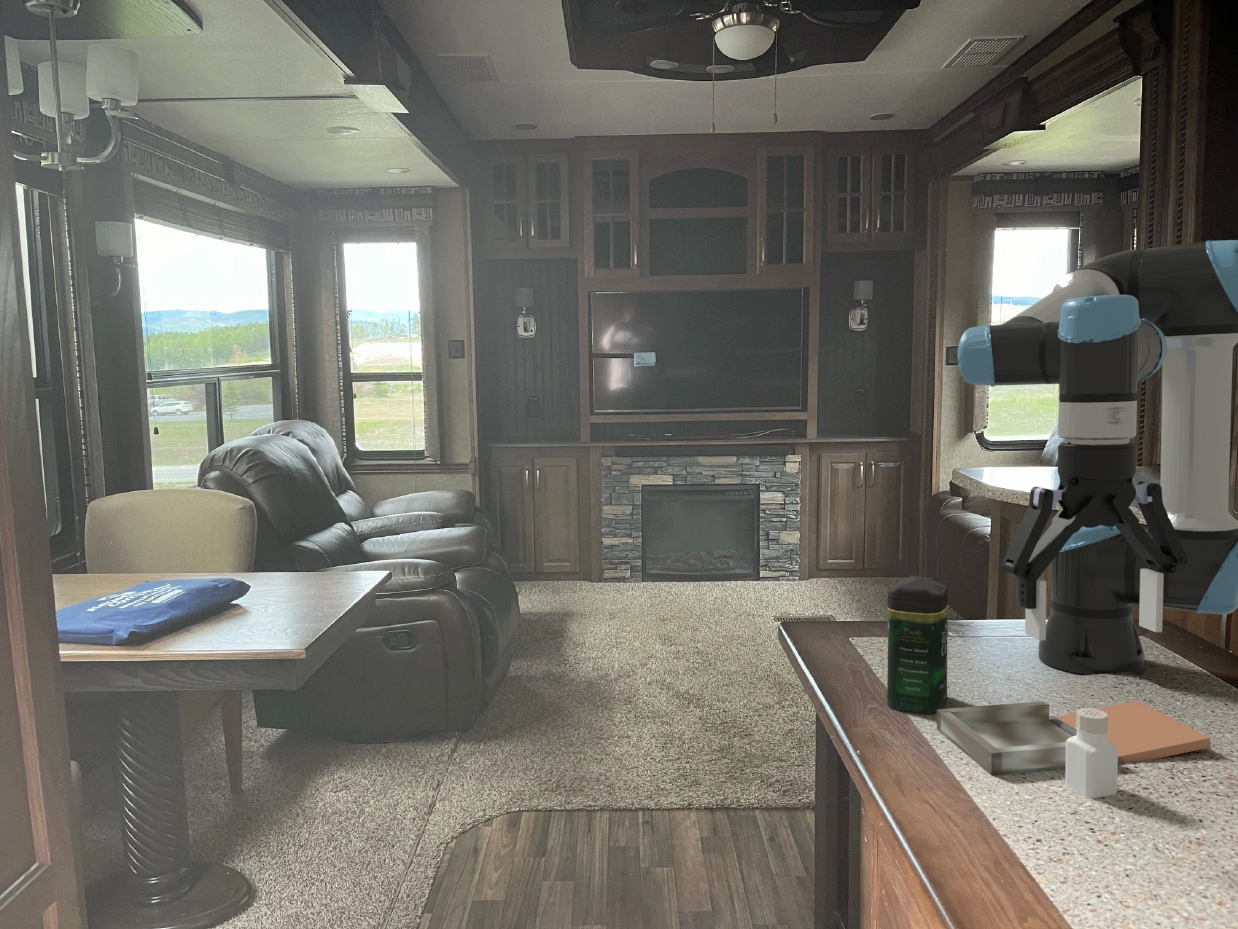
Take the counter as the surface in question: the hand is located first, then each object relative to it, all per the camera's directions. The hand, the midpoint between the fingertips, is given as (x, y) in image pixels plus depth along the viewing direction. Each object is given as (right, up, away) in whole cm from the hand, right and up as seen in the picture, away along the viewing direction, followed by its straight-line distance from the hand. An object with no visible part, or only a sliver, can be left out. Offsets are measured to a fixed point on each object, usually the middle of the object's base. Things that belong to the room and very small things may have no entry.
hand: (1093, 633), depth 100 cm
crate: (-2, -17, +14) cm, 22 cm away
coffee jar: (-10, -16, +30) cm, 35 cm away
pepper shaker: (+1, -19, +2) cm, 19 cm away
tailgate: (+6, -16, +14) cm, 23 cm away
